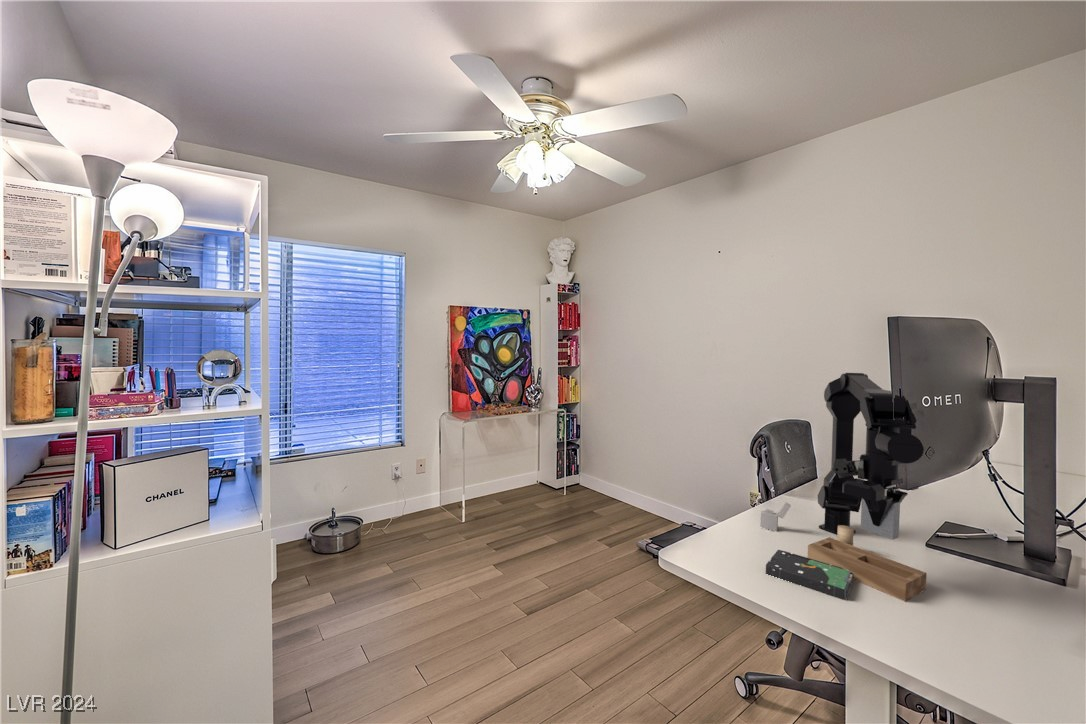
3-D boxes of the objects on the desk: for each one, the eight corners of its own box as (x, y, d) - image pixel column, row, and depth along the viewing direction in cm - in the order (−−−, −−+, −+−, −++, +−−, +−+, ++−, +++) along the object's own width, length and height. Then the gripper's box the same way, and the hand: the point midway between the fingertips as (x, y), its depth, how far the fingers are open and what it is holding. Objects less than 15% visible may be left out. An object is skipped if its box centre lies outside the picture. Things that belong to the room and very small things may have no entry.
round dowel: (841, 548, 109) (842, 524, 109) (855, 553, 106) (856, 529, 106) (834, 550, 108) (834, 526, 107) (848, 556, 105) (849, 531, 105)
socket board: (829, 551, 107) (829, 537, 107) (925, 589, 91) (926, 572, 91) (807, 559, 103) (808, 544, 103) (905, 601, 86) (905, 583, 86)
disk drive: (764, 577, 96) (846, 603, 86) (765, 564, 96) (847, 589, 86) (777, 560, 104) (853, 582, 94) (777, 548, 104) (853, 569, 94)
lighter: (760, 528, 121) (760, 499, 120) (760, 525, 122) (761, 497, 122) (789, 534, 117) (790, 504, 117) (790, 531, 118) (791, 502, 118)
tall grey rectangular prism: (866, 526, 97) (867, 493, 97) (898, 537, 92) (900, 501, 91) (860, 528, 96) (861, 494, 96) (892, 539, 90) (894, 503, 90)
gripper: (863, 440, 105) (861, 505, 105) (817, 448, 96) (815, 518, 96) (921, 450, 95) (918, 521, 95) (875, 460, 86) (873, 538, 87)
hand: (879, 524), depth 94 cm, fingers closed on tall grey rectangular prism, 2 cm apart
